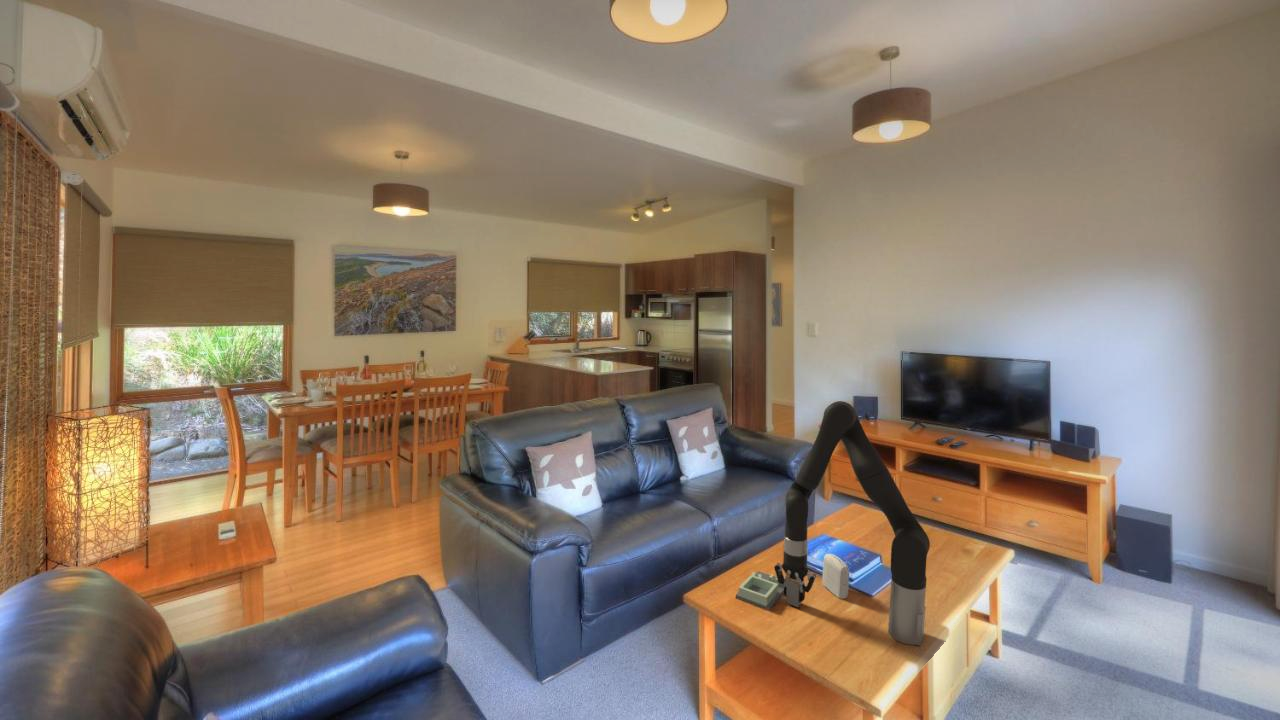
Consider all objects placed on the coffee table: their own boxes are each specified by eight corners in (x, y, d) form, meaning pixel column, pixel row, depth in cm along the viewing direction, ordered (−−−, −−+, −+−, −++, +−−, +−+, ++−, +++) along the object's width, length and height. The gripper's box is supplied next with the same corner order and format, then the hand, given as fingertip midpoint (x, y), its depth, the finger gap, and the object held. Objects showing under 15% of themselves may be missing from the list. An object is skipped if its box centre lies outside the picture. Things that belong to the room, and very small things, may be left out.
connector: (802, 601, 171) (802, 577, 170) (797, 607, 168) (798, 582, 167) (790, 597, 174) (791, 573, 173) (786, 603, 171) (786, 578, 170)
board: (790, 584, 183) (790, 575, 182) (769, 610, 167) (769, 600, 167) (758, 574, 190) (758, 564, 189) (735, 598, 175) (735, 587, 174)
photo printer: (850, 598, 175) (851, 563, 173) (839, 600, 173) (841, 565, 172) (830, 582, 184) (832, 549, 183) (820, 584, 183) (821, 551, 182)
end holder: (777, 592, 176) (778, 584, 176) (766, 606, 168) (766, 597, 168) (750, 582, 182) (751, 574, 181) (738, 595, 174) (738, 587, 173)
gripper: (820, 551, 168) (819, 600, 170) (778, 539, 176) (777, 586, 178) (813, 560, 162) (811, 611, 164) (770, 548, 170) (769, 596, 172)
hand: (794, 598), depth 171 cm, fingers closed on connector, 4 cm apart
